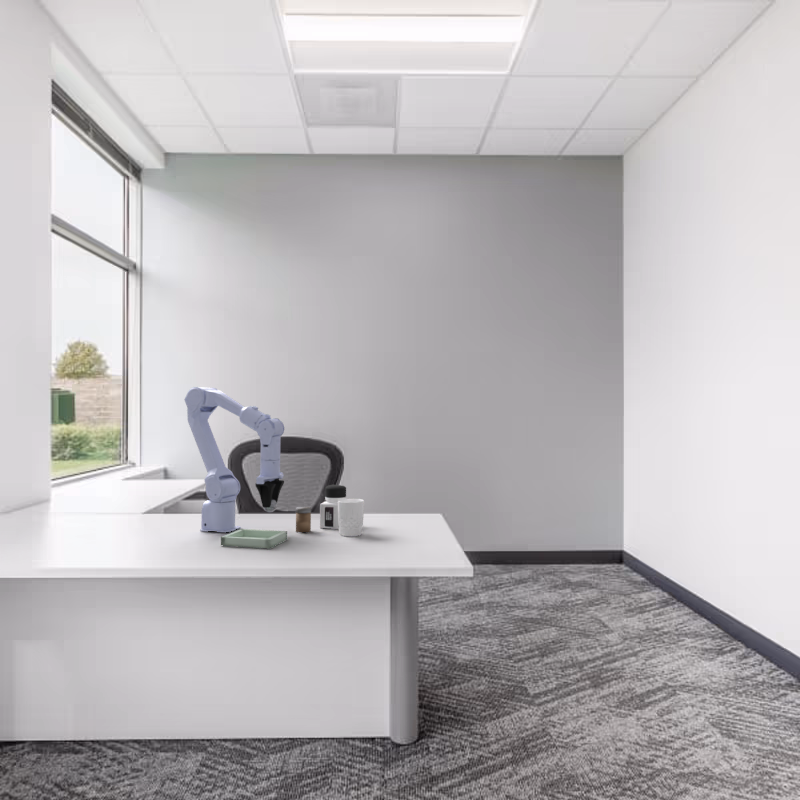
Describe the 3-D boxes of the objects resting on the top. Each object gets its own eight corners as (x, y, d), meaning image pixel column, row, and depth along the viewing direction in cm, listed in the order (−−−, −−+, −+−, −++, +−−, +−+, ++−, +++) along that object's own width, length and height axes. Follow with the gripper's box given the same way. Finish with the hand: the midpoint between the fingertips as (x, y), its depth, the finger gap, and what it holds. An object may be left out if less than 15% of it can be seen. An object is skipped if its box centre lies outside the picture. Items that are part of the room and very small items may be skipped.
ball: (260, 512, 186) (260, 499, 186) (266, 510, 189) (266, 497, 190) (273, 513, 185) (273, 499, 185) (279, 511, 189) (279, 497, 189)
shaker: (293, 532, 190) (293, 508, 190) (298, 529, 194) (299, 506, 194) (307, 533, 189) (308, 509, 189) (313, 530, 193) (313, 507, 193)
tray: (220, 546, 171) (220, 537, 171) (241, 537, 182) (241, 528, 182) (269, 548, 168) (269, 539, 168) (287, 539, 179) (287, 531, 179)
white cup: (331, 534, 188) (332, 500, 188) (351, 530, 194) (351, 497, 194) (349, 538, 182) (350, 503, 182) (369, 534, 188) (369, 500, 188)
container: (343, 529, 195) (344, 487, 195) (319, 528, 196) (320, 486, 197) (350, 525, 202) (351, 484, 203) (327, 524, 204) (327, 483, 204)
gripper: (273, 462, 179) (272, 510, 179) (292, 458, 193) (291, 502, 193) (249, 461, 181) (249, 509, 181) (270, 457, 195) (270, 501, 195)
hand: (269, 506), depth 187 cm, fingers closed on ball, 4 cm apart
